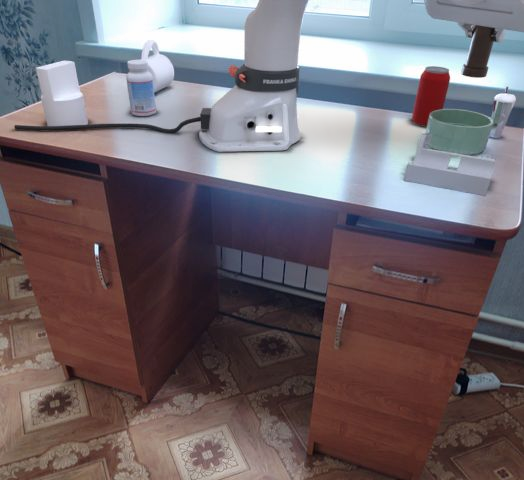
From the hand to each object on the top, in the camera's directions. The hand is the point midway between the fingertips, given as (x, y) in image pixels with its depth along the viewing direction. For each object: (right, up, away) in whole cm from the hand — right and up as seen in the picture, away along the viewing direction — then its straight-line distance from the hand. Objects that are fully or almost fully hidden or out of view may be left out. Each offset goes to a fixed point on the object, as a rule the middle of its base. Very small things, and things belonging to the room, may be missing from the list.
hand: (485, 36), depth 95 cm
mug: (-72, +12, +44) cm, 86 cm away
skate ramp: (-6, -25, +3) cm, 26 cm away
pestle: (-1, -5, +4) cm, 6 cm away
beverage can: (-2, -4, +29) cm, 29 cm away
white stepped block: (-87, -7, +21) cm, 90 cm away
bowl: (0, -14, +17) cm, 22 cm away
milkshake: (+12, -9, +23) cm, 28 cm away
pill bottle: (-71, -1, +28) cm, 77 cm away
